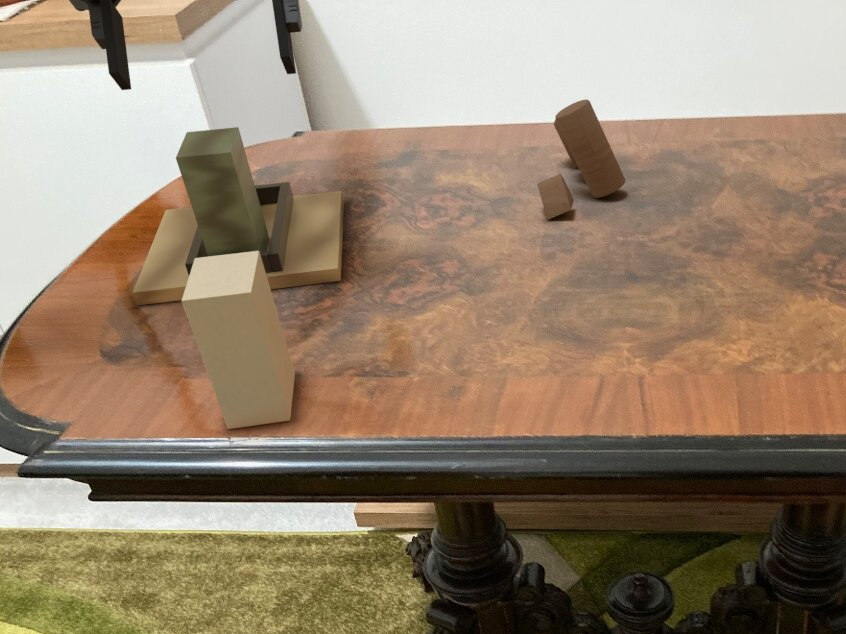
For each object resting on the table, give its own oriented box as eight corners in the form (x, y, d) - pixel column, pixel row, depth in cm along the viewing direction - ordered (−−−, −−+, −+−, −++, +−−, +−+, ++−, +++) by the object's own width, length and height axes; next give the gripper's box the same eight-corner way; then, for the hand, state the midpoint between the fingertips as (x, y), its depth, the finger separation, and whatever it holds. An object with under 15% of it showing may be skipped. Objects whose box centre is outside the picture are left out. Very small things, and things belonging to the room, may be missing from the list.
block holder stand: (137, 305, 92) (85, 175, 83) (169, 221, 107) (128, 104, 99) (341, 280, 94) (310, 152, 86) (344, 202, 110) (318, 86, 101)
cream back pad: (227, 429, 75) (181, 300, 68) (236, 382, 81) (194, 257, 73) (290, 420, 76) (251, 292, 68) (295, 374, 81) (259, 250, 74)
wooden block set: (569, 177, 119) (533, 103, 114) (630, 150, 117) (596, 73, 111) (554, 233, 105) (511, 151, 100) (623, 204, 102) (583, 118, 97)
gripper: (329, -136, 85) (362, 81, 82) (41, -117, 81) (68, 110, 79) (313, -203, 77) (349, 34, 75) (-4, -185, 74) (25, 64, 72)
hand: (205, 74), depth 77 cm, fingers open, 13 cm apart
